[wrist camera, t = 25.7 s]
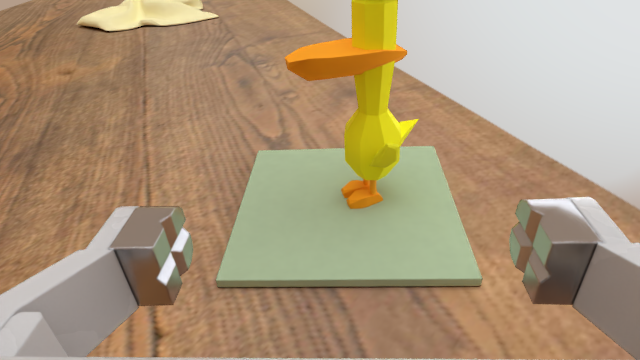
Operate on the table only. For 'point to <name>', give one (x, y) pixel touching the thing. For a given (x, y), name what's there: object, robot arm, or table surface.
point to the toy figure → (363, 93)
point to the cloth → (146, 14)
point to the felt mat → (346, 226)
